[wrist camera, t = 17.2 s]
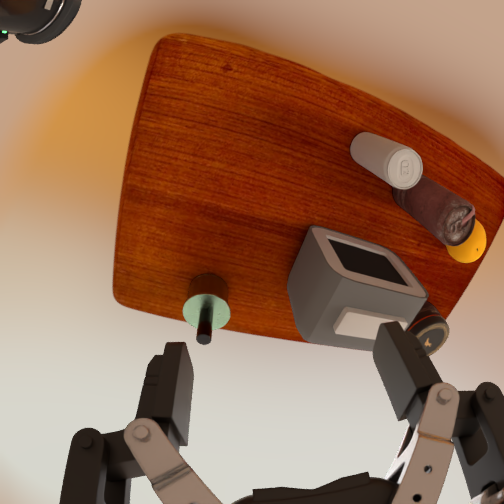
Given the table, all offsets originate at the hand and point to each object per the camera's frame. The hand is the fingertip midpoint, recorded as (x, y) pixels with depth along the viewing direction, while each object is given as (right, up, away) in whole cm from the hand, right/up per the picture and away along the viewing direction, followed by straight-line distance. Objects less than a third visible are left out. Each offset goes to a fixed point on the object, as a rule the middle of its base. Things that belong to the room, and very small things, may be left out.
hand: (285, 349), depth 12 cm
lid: (-8, -5, +33) cm, 34 cm away
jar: (+31, -9, +44) cm, 54 cm away
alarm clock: (+12, +2, +37) cm, 39 cm away
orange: (+35, +8, +35) cm, 50 cm away
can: (+23, +14, +31) cm, 40 cm away
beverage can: (+14, +18, +28) cm, 36 cm away
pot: (-8, -2, +37) cm, 38 cm away
